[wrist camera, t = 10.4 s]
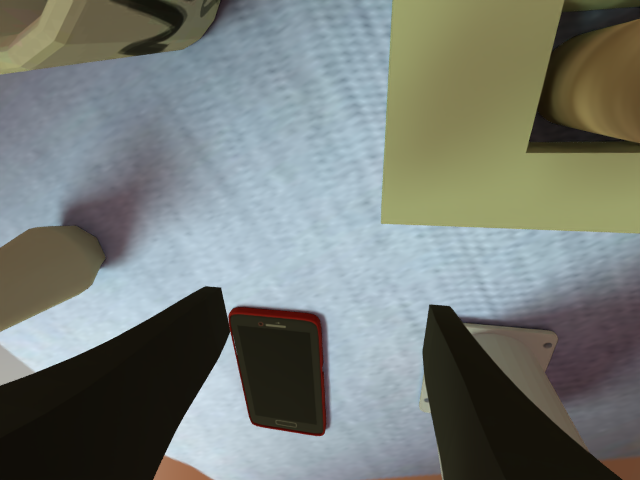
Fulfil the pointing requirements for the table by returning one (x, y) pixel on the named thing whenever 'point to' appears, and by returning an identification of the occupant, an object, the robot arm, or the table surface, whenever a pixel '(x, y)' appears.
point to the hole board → (492, 125)
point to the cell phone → (281, 368)
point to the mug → (96, 30)
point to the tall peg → (596, 82)
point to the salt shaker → (45, 270)
